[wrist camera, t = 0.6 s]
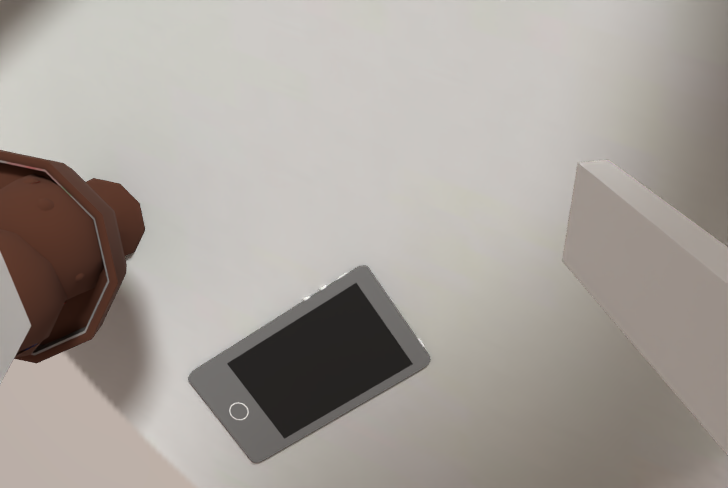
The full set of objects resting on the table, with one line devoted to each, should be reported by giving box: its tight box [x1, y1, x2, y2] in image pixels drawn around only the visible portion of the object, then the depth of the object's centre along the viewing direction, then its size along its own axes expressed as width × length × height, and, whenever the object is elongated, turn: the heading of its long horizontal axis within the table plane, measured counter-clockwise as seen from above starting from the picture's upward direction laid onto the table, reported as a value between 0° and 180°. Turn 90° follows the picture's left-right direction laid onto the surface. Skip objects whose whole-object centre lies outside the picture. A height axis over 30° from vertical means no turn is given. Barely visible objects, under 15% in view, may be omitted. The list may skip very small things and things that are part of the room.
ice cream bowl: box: [0, 150, 145, 363], centre depth 31 cm, size 11×11×15 cm
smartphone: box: [188, 265, 430, 463], centre depth 40 cm, size 15×8×1 cm, turn 124°
